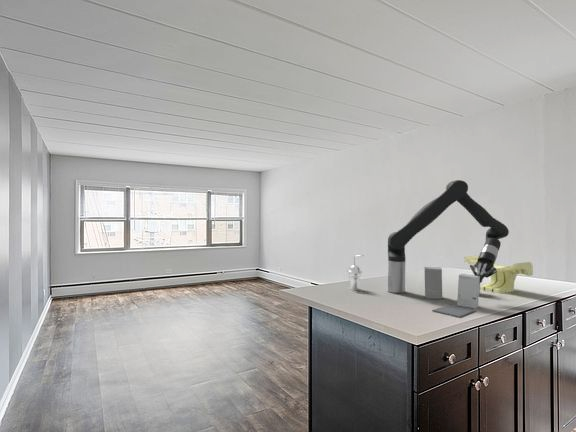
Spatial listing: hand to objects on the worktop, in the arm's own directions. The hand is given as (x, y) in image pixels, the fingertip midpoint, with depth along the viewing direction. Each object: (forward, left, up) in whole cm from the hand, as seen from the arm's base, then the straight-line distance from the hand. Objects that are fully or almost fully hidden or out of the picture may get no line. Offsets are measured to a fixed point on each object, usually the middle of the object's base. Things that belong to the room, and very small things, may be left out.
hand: (477, 282), depth 170 cm
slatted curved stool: (+18, +37, -10) cm, 42 cm away
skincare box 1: (-20, +5, -10) cm, 23 cm away
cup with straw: (-61, +13, -10) cm, 63 cm away
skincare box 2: (-6, -8, -10) cm, 15 cm away
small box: (+2, +22, -10) cm, 24 cm away
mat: (-14, -20, -10) cm, 26 cm away
